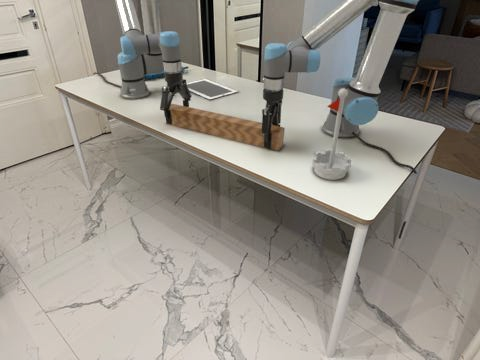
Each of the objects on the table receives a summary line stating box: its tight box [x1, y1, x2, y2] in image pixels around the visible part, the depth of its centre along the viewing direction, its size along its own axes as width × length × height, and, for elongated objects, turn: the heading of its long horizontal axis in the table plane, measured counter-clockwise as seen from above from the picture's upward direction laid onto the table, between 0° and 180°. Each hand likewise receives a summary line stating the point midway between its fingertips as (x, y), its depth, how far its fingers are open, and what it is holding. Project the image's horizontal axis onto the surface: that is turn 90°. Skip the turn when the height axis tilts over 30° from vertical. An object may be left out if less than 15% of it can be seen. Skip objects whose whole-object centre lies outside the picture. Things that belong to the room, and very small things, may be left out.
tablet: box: [186, 78, 239, 101], centre depth 198 cm, size 32×20×1 cm, turn 41°
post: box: [169, 103, 285, 152], centre depth 145 cm, size 56×6×8 cm, turn 61°
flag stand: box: [312, 88, 352, 181], centre depth 113 cm, size 13×13×30 cm
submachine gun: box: [143, 66, 189, 81], centre depth 225 cm, size 34×4×25 cm
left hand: (178, 118), depth 155 cm, fingers open, 12 cm apart
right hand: (270, 144), depth 138 cm, fingers closed on post, 5 cm apart
